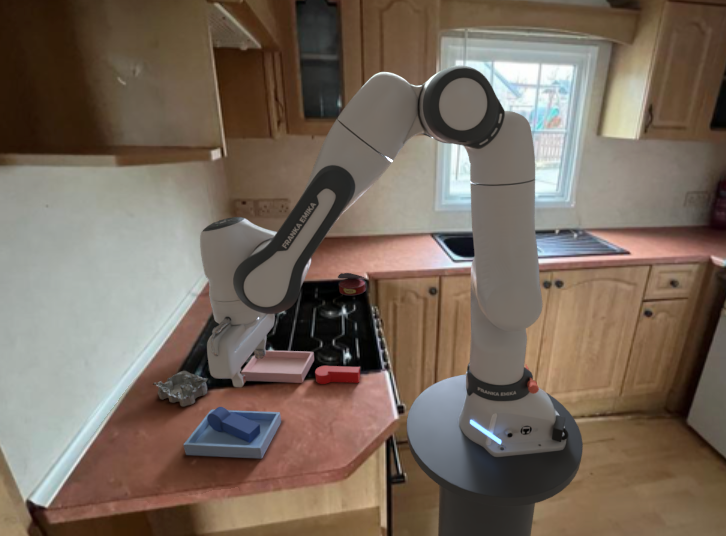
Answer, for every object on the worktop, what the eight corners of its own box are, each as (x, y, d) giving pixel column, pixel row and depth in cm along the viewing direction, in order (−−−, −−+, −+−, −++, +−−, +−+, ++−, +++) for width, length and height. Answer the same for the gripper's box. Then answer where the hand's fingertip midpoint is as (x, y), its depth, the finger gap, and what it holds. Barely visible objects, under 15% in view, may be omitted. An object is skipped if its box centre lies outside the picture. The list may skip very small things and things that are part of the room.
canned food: (339, 302, 155) (328, 279, 154) (359, 292, 162) (348, 269, 161) (355, 297, 147) (343, 272, 146) (375, 286, 154) (363, 262, 153)
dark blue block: (250, 446, 82) (260, 436, 84) (248, 430, 80) (259, 420, 83) (208, 427, 85) (219, 418, 88) (206, 410, 84) (217, 401, 86)
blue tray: (281, 421, 88) (280, 412, 87) (262, 458, 79) (260, 448, 78) (213, 418, 89) (211, 409, 88) (185, 455, 80) (183, 444, 79)
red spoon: (361, 374, 104) (360, 364, 103) (357, 385, 100) (357, 375, 99) (318, 373, 105) (317, 363, 104) (313, 383, 101) (312, 373, 100)
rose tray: (314, 360, 111) (313, 351, 110) (302, 383, 101) (301, 374, 100) (259, 358, 112) (258, 349, 111) (242, 380, 102) (240, 371, 101)
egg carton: (154, 397, 96) (150, 382, 95) (183, 380, 102) (179, 366, 101) (185, 410, 92) (181, 395, 90) (213, 391, 98) (210, 376, 97)
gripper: (228, 334, 65) (242, 405, 70) (276, 285, 84) (284, 343, 89) (190, 334, 66) (207, 404, 71) (246, 284, 85) (256, 343, 90)
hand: (251, 370), depth 80 cm, fingers open, 8 cm apart
